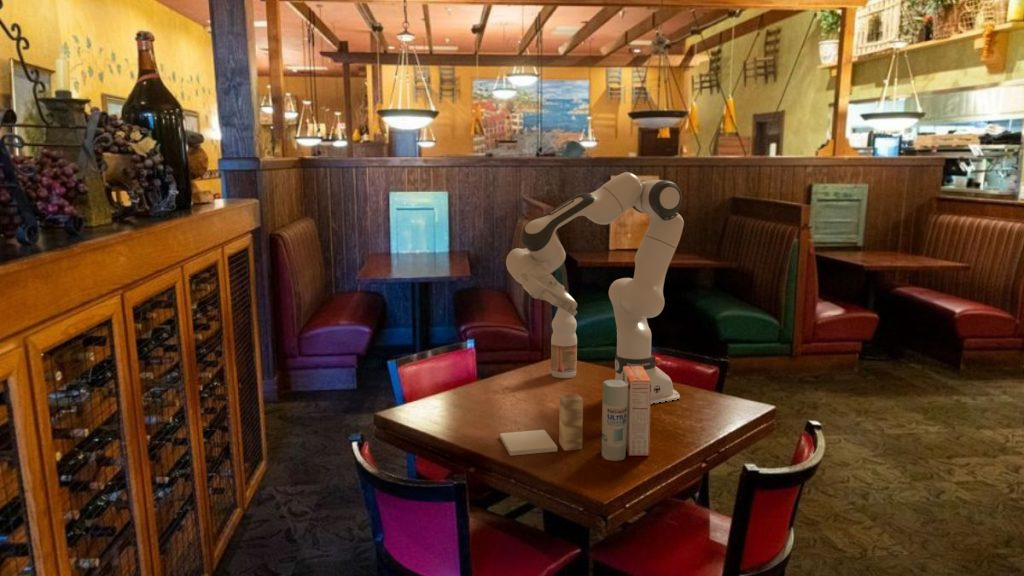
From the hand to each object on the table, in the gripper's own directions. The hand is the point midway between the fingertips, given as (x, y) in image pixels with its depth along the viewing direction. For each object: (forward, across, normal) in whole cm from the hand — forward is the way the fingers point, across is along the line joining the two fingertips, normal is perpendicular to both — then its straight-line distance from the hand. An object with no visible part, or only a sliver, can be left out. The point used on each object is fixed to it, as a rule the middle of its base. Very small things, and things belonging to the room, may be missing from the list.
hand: (565, 308), depth 203 cm
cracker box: (+35, +17, +17) cm, 43 cm away
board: (+20, 0, +34) cm, 40 cm away
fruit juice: (-24, +51, +28) cm, 63 cm away
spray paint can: (+37, +9, +21) cm, 44 cm away
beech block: (+26, +6, +27) cm, 39 cm away
